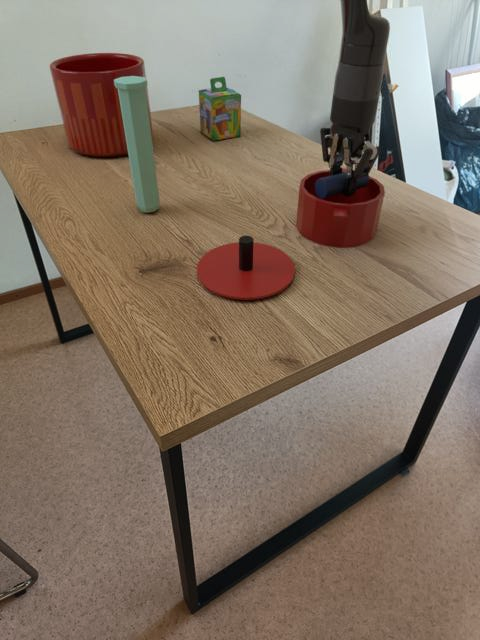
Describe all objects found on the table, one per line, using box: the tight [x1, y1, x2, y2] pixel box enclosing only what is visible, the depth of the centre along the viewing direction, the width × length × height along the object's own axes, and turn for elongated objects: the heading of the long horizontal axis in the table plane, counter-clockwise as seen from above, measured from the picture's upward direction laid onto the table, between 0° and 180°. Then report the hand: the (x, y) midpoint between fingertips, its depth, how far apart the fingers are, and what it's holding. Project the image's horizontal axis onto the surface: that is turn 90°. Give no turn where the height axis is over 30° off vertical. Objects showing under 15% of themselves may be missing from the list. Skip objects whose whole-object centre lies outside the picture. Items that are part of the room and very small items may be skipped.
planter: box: [49, 52, 154, 158], centre depth 119 cm, size 23×23×20 cm
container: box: [114, 76, 161, 214], centre depth 87 cm, size 6×6×25 cm
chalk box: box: [198, 76, 242, 142], centre depth 127 cm, size 9×9×15 cm
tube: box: [315, 172, 370, 199], centre depth 84 cm, size 10×4×4 cm, turn 120°
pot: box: [295, 167, 386, 248], centre depth 87 cm, size 16×21×8 cm
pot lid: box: [196, 235, 296, 301], centre depth 76 cm, size 17×17×7 cm
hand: (341, 190), depth 85 cm, fingers closed on tube, 3 cm apart
